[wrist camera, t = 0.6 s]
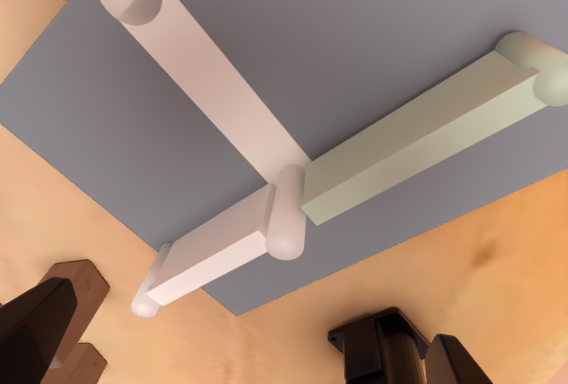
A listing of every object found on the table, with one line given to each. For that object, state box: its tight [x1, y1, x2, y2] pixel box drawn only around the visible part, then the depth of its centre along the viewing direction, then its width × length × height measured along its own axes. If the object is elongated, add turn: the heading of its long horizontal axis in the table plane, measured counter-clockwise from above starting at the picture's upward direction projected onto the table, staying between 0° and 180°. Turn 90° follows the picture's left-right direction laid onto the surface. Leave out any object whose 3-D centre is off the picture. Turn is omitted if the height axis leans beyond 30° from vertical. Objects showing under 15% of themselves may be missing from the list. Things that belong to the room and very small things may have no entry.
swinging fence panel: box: [300, 32, 568, 226], centre depth 17 cm, size 2×12×4 cm, turn 128°
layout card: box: [0, 0, 568, 318], centre depth 18 cm, size 22×27×6 cm
